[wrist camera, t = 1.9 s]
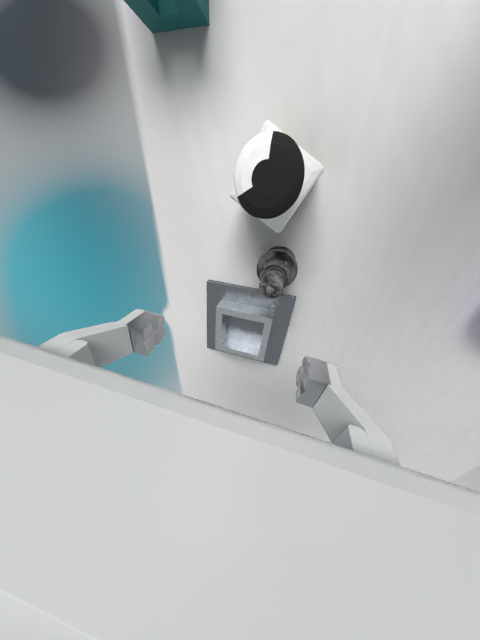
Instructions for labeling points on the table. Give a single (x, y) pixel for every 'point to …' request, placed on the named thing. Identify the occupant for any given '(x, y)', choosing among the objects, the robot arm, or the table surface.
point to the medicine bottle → (273, 176)
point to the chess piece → (276, 271)
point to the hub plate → (247, 321)
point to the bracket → (171, 13)
